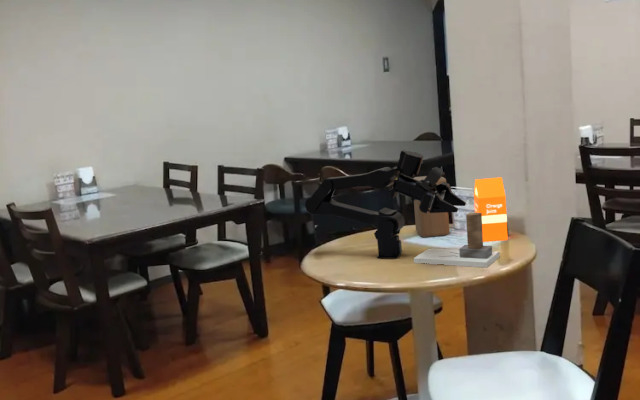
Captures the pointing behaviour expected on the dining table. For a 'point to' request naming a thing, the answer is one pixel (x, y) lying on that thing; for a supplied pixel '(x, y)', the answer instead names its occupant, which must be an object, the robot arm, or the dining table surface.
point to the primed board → (453, 258)
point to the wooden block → (430, 218)
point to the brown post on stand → (475, 239)
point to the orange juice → (491, 208)
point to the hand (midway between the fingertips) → (461, 207)
